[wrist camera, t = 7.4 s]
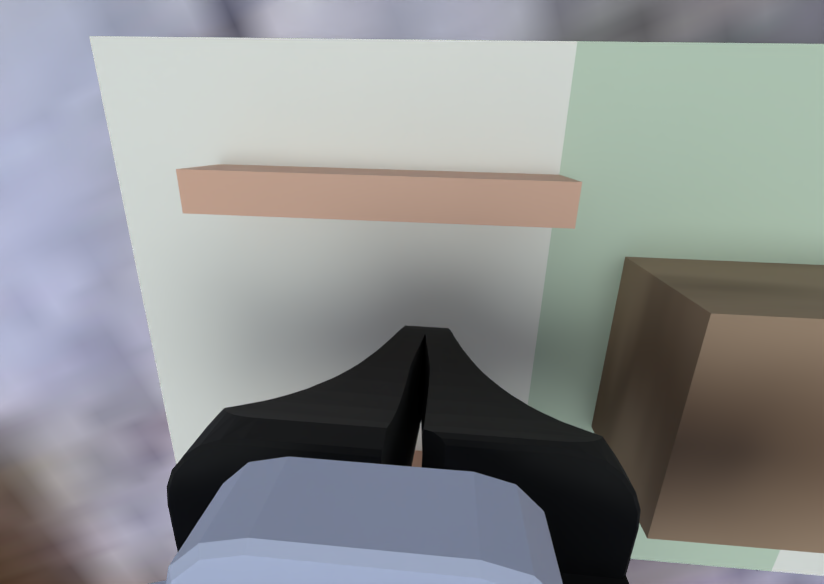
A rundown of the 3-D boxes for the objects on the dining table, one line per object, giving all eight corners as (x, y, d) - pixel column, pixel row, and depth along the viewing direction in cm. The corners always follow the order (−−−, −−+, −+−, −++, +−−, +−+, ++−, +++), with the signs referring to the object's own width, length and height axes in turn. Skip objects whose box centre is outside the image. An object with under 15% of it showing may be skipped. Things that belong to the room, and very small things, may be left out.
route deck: (901, 516, 17) (1073, 658, 12) (226, 463, 19) (153, 569, 14) (1143, 71, 12) (1610, 25, 7) (164, 57, 14) (13, 14, 9)
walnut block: (775, 439, 13) (908, 560, 9) (591, 426, 13) (647, 538, 10) (841, 265, 11) (1041, 330, 7) (625, 256, 12) (710, 313, 8)
